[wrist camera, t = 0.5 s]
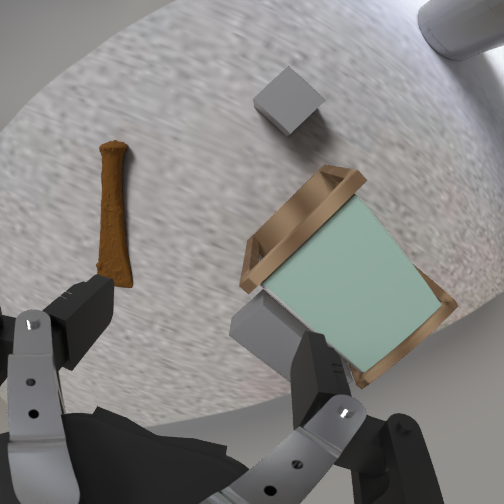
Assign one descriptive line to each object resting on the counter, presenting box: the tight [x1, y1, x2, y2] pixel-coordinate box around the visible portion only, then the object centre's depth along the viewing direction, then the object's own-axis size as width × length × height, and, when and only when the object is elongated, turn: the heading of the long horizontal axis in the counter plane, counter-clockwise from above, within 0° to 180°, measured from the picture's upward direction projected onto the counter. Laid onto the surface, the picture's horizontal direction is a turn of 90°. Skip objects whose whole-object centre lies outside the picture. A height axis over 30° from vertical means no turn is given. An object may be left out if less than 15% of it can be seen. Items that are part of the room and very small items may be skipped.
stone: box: [253, 66, 326, 137], centre depth 29 cm, size 5×5×5 cm
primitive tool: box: [96, 140, 133, 288], centre depth 35 cm, size 19×6×4 cm, turn 175°
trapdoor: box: [229, 194, 442, 384], centre depth 25 cm, size 15×14×3 cm
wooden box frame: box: [239, 165, 458, 389], centre depth 30 cm, size 13×17×13 cm
